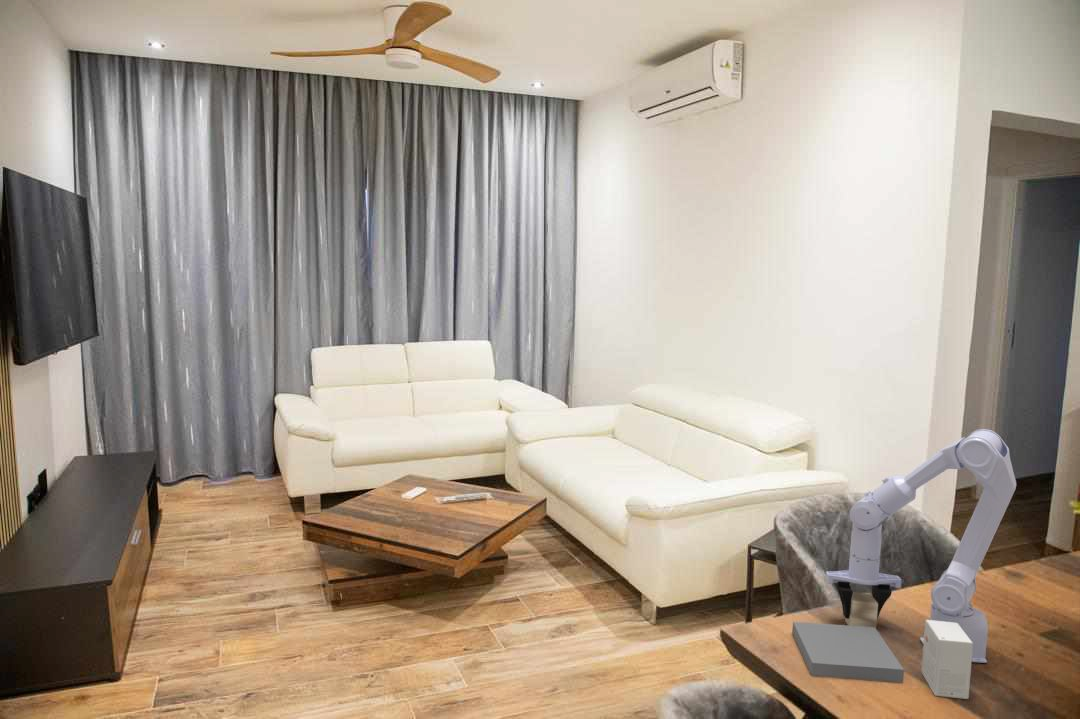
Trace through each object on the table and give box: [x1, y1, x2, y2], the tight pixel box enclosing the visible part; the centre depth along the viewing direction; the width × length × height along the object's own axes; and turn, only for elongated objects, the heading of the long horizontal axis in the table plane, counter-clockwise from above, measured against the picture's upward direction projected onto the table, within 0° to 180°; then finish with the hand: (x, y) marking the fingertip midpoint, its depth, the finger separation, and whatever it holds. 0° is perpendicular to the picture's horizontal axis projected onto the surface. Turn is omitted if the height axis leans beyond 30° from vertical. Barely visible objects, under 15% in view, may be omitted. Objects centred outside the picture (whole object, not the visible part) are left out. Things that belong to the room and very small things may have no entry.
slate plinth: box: [791, 621, 905, 684], centre depth 144 cm, size 16×16×2 cm
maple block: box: [843, 591, 878, 629], centre depth 156 cm, size 5×5×6 cm
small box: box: [920, 619, 973, 700], centre depth 134 cm, size 8×6×10 cm
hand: (860, 617), depth 157 cm, fingers closed on maple block, 5 cm apart
